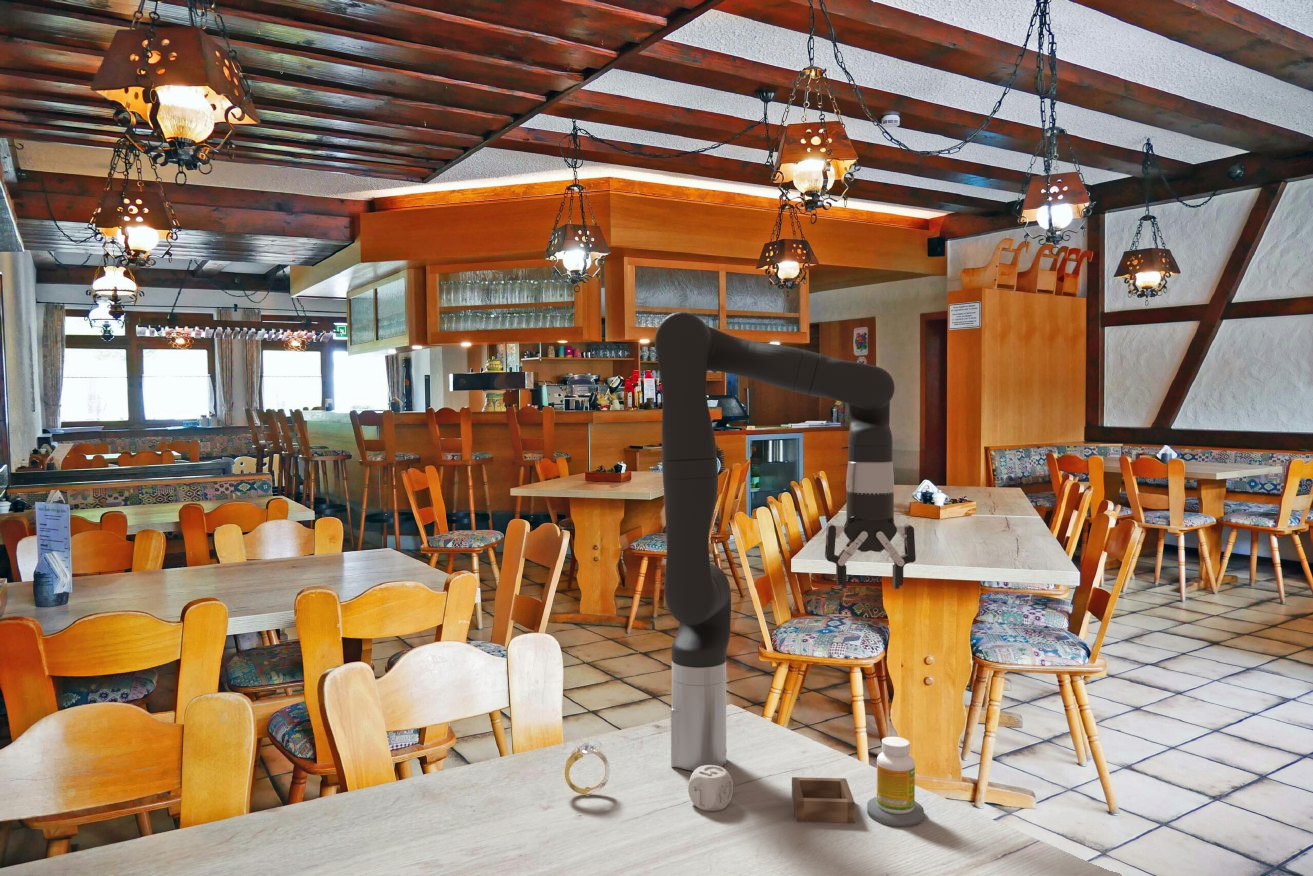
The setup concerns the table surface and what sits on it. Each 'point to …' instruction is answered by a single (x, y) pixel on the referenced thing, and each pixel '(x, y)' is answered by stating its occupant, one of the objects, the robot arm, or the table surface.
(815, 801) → the walnut collar
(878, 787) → the supplement bottle
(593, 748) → the ring
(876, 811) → the rubber coaster
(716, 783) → the die
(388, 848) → the table surface
